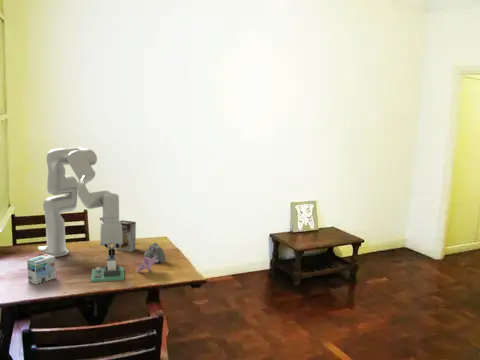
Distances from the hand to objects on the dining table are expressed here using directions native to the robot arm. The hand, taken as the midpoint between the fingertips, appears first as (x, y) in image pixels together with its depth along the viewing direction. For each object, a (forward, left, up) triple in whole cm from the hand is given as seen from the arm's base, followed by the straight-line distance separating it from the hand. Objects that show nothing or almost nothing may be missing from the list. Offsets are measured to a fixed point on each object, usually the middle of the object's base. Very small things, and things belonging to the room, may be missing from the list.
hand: (111, 256), depth 227 cm
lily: (+17, 0, -10) cm, 20 cm away
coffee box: (+7, +39, -10) cm, 41 cm away
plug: (0, 0, -8) cm, 8 cm away
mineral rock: (+22, +19, -10) cm, 30 cm away
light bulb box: (-32, 0, -10) cm, 33 cm away
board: (-2, 0, -9) cm, 10 cm away
